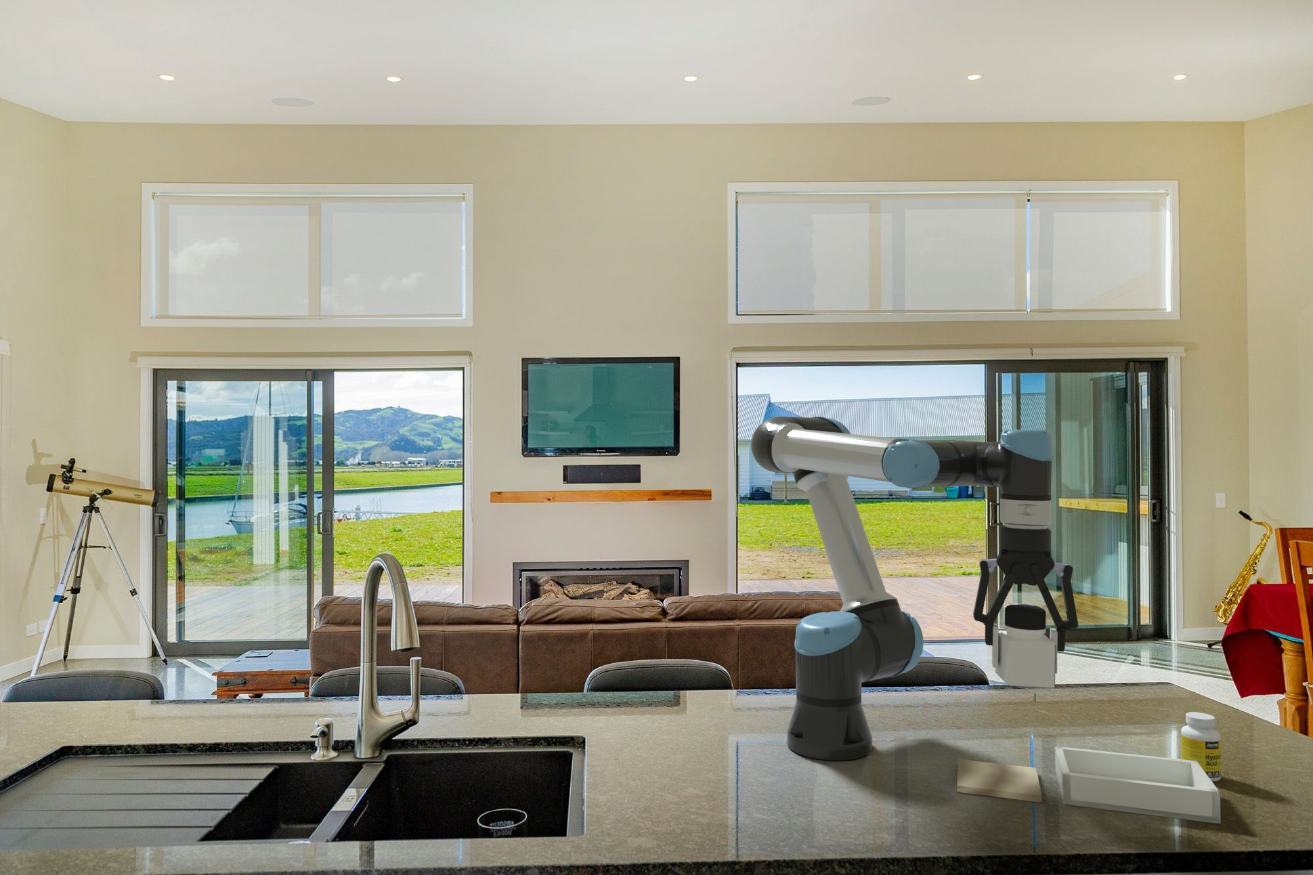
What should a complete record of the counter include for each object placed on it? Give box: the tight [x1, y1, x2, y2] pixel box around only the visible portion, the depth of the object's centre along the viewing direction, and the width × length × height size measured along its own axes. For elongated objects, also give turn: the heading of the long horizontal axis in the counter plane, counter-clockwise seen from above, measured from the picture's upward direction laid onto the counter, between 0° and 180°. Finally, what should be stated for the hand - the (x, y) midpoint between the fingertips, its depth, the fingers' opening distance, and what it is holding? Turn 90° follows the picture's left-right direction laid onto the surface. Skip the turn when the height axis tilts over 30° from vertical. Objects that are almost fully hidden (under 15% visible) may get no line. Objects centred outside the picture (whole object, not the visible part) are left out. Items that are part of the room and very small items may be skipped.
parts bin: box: [1054, 745, 1222, 825], centre depth 126 cm, size 20×13×4 cm, turn 69°
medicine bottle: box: [994, 603, 1056, 689], centre depth 132 cm, size 7×7×12 cm
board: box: [956, 758, 1043, 803], centre depth 132 cm, size 12×12×1 cm
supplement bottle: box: [1180, 711, 1222, 783], centre depth 134 cm, size 5×5×10 cm
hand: (1023, 668), depth 132 cm, fingers closed on medicine bottle, 8 cm apart
